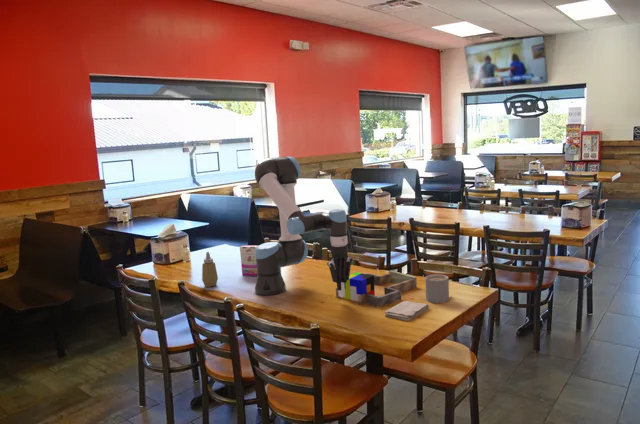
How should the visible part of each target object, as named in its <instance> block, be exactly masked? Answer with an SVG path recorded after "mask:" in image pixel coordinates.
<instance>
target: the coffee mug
mask: <svg viewBox="0 0 640 424" xmlns="http://www.w3.org/2000/svg"><path fill="white" fill-rule="evenodd" d="M424 280H425V301H426V302H429V303H432V304H443V303H446V302H449V301H450V291H449V289H450V287H449V276H447V275H445V274H439V273H438V274H437V273H436V274H429V275H426V276H425V279H424Z"/></svg>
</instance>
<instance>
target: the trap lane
mask: <svg viewBox="0 0 640 424" xmlns="http://www.w3.org/2000/svg"><path fill="white" fill-rule="evenodd" d="M367 274H370V275H374V285H377V286H380V285H384V284H387V283H390V282H393V283H394V284H391V285H388V286H385V287H383V291H384V293H383V294H382V295H379V296H377V295H376V294H375V295H371V294H368V293H365V294H362V295H359V296H358V301H357V303H358V305H359V306H363V305H365V304H368V305H370V306H375V307H378V308H381V307H383V306H387V305H390V304H392V303H395V302H397V301H401V300H402V293H403V292H406V291H408V290H411V289H415V288H417V286H418V285H417V284H418V283H417V276H416V275H411V274H407V273H402V272H398V271H394V270H389V271H388V272H387V273H383V274H381V275H377V274H372V273H367ZM335 296H336V297H335V298H340V297H339V294H338V290H337V287H336V288H335ZM380 306H381V307H380Z"/></svg>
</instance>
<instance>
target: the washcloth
mask: <svg viewBox="0 0 640 424" xmlns="http://www.w3.org/2000/svg"><path fill="white" fill-rule="evenodd" d="M429 308H430V305H429V304H428V303H422V302H419V303H418V302H414V301H413V302H412V301H409V300H408V301H407V300H403V301H401V302H400V303H397V304H396V305H394V306H393V307H390V308H389V309H386V310H385V311H384V314H385V315H384V317H387V318H390V317H391V318H390V319H395V318H396V319H395V320H400V321H405V322H408V321H411V320H413V319H415V318H417V317H418V316H420V315H421V314H423V313H424V312H426V311H428V310H429Z"/></svg>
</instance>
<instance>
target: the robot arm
mask: <svg viewBox="0 0 640 424" xmlns="http://www.w3.org/2000/svg"><path fill="white" fill-rule="evenodd" d="M301 172H302V169H301V166H300V163H299V161H298V160H297V159H296V158H295V157H294V156H278V157H267V158H263V159H262V160H260V161H259V162H258V163H257V165H256V166H255V169H254V178H255V181H256V183H257V185H258V186H259V188H260V189H262V190H264V192H266V193H267V195H268V197H269V198H270V200H271V201H272V202H273V203H274V205H275V206H276V208H278V213H279V223H280V235H281V236H280V237H279V238H278V242H277V241H269V242H264V243H261V244H260V245H257V246H258V247H257V248H256V264H257V276H256V277H257V278H256V281H255V285H254V292H255V293H256V294H257V295H260V296H273V295H278V294H282V293H284V292H285V291H286V289H287V287H286V282H285V281H284V277H283V276H282V268H284V267H289V266H295V265H298V264H301V263H303V262H305V260H306V259H307V257H308V255H309V254H308V253H309V251H308V250H309V249H308V244H307V243H306V241H305V240H304V239H303V237H302V236H301V235H302V234H308V233H312V232H313V233H314V232H319V231H322V230H324V231H325V230H326V231H329V240H330V242H329V243H330V245H331V246H330V254H331V259H330V262H326V265H327V266H328V268H329V271H330V272H329V273H330V276H331V278H332V279H331V281H332V283H334V284H335V283H336V288H337V290H338V294H339V298H343V299H344V298H345V288H346V286H345V283H346V282H347V281H346V280H349V275H351V274H350V273H351V267H352V262H353V258H352V257H349V254H348V253H349V246H348V242H349V241H348V227H347V226H348V225H347V224H348V222H347V220H348V219H347V212H346V210H344V209H341V208H340V209H331V210H329V212H325V211H316V212H315V213H313V214H308V215H307V214H306V215H305V214H304V212H303V211H302V210H301V209H300V207H299V206H298V205H297V204H296V191H295V187H296V185H297V183H298V181H297V180H298V179H300V177H301Z"/></svg>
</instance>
